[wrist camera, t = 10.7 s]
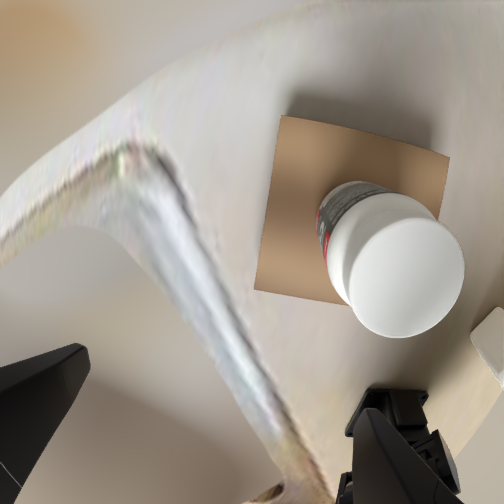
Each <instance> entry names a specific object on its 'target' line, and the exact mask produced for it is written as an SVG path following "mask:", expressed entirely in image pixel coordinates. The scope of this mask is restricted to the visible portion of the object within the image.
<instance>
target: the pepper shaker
mask: <svg viewBox="0 0 504 504" xmlns="http://www.w3.org/2000/svg"><path fill="white" fill-rule="evenodd" d="M470 339H471V342H472V344H473V345H474V347H475V349H476V350H477V352H478V353H479V355H480V356H481V358H482V359H483V361H484V362H485V363H486V365H487V366H488V368H489V369H490V370H491V372H492V373H493V375H494V376H495V377H496V379H497V380H498V382H499V383H500V385H501V386H502V388H503V389H504V310H503V309H502V308H500V307H497V308H495V309H494V310H493V311H492V312H491V313H490V314H489V315H488V316H487V317H486V318H485V319H484V320H483V321H482V322H481V323H480V324H479V325H478V326H477V327H476V328H475V329H474V330H473V331H472V332H471V334H470Z"/></svg>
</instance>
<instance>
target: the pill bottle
mask: <svg viewBox="0 0 504 504" xmlns="http://www.w3.org/2000/svg"><path fill="white" fill-rule="evenodd" d="M316 232H317V237H318V240H319V243H320V246H321V250H322V253H323V257H324V260H325V264H326V267H327V271H328V275H329V278H330V281H331V283H332V285H333V287H334V288H335V290H336V291H337V293H338V294H339V295H340V297H341V298H342V299H343V300H344V301H345V302H346V303H347V304H348V305H350V306H351V307H352V309H353V311H354V313H355V315H356V316H357V318H358V319H359V320H360V322H361V323H362V324H363V325H364V326H365V327H367V328H368V329H369V330H371V331H372V332H374V333H376V334H379V335H381V336H385V337H389V338H406V337H411V336H414V335H418V334H420V333H422V332H424V331H427V330H428V329H430V328H432V327H433V326H434V325H436V324H437V323H438V322H439V321H441V320H442V319H443V318H444V317H445V316H446V315H447V313H448V312H449V311H450V310H451V308H452V307H453V305H454V304H455V302H456V300H457V298H458V296H459V294H460V291H461V288H462V284H463V280H464V271H465V265H464V257H463V253H462V249H461V246H460V244H459V242H458V240H457V239H456V237H455V236H454V234H453V233H452V232H451V231H450V230H449V229H448V228H447V227H446V226H445V225H443V224H442V223H440V222H439V221H437V220H436V219H435V217H434V216H433V215H432V213H431V212H430V211H429V210H428V209H427V208H426V207H425V206H424V205H422V204H421V203H420V202H418V201H417V200H415V199H413V198H411V197H409V196H407V195H404V194H401V193H399V192H396V191H393V190H390V189H387V188H385V187H382V186H379V185H376V184H373V183H370V182H366V181H352V182H348V183H345V184H342V185H340V186H338V187H336V188H335V189H333V190H332V191H331V192H330V193H329V194H328V195H327V196H326V197H325V198H324V200H323V201H322V203H321V205H320V207H319V210H318V213H317V218H316Z"/></svg>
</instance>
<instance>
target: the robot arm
mask: <svg viewBox="0 0 504 504" xmlns="http://www.w3.org/2000/svg"><path fill="white" fill-rule="evenodd" d="M89 371H90V360H89V355H88V350H87V348H86V347H85V346H84V345H81V344H79V343H74V344H70V345H67V346H64V347H62V348H59V349H56V350H53V351H50V352H47V353H44V354H41V355H38V356H35V357H31V358H29V359H26V360H22V361H19V362H16V363H13V364H10V365H7V366H4V367H0V504H14V502H15V500H16V498H17V496H18V494H19V492H20V491H21V489H22V488H21V487H23V485H24V483H25V482H26V479H27V478H28V476H29V474H30V473H31V471H32V469H33V468H34V466H35V464H36V462H37V461H38V459H39V457H40V456H41V454H42V452H43V451H44V449H45V447H46V446H47V444H48V442H49V441H50V439H51V437H52V436H53V434H54V433H55V431H56V429H57V428H58V426H59V425H60V423H61V422H62V420H63V418H64V417H65V415H66V414H67V412H68V411H69V409H70V407H71V406H72V404H73V402H74V400H75V399H76V397H77V395H78V392H79V390H80V389H81V387H82V385H83V383H84V381H85V379H86V377H87V375H88V373H89ZM372 393H373V394H372ZM370 394H371V395H370ZM428 396H429V395H428V392H427V391H415V390H390V389H374V388H372V389H368V390H367V391H366V392H365V394H364V396H363V398H362V400H361V402H360V404H359V406H358V408H357V410H356V412H355V414H354V416H353V417H352V419H351V421H350V423H349V425H348V427H347V428H346V430H345V436H346V437H353V460H352V471H351V472H345V473H343V474H341V479H340V484H339V489H338V494H337V499H336V503H335V504H464V503H463V502H462V501H461V500H460V499H458V498H457V497H456V496H455V495H457V494H459V493H460V492H461V490H460V484H459V479H458V474H457V469H456V466H455V463H454V460H453V458H452V455H451V453H450V450H449V448H448V446H447V444H446V443H445V441H444V439H443V437H442V436H441V434H440V432H439V430H438V429H437V430H435V431H433V432H432V434H430V433H429V430H428V427H427V423H428V421H427V419H426V416H425V414H424V411H423V408H422V406H423V405H424V403H425V402H426V400H427V398H428Z"/></svg>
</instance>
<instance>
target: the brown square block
mask: <svg viewBox="0 0 504 504" xmlns="http://www.w3.org/2000/svg"><path fill="white" fill-rule="evenodd" d="M449 160H450V157H447V156H444V155H442V154H439V153H436V152H433V151H430V150H427V149H424V148H421V147H417V146H414V145H411V144H408V143H404V142H401V141H398V140H394V139H390V138H387V137H383V136H379V135H376V134H372V133H368V132H364V131H360V130H355V129H351V128H347V127H342V126H338V125H333V124H328V123H323V122H318V121H312V120H307V119H301V118H295V117H289V116H283V115H281V119H280V126H279V132H278V139H277V145H276V152H275V158H274V165H273V171H272V177H271V184H270V190H269V197H268V203H267V209H266V216H265V222H264V228H263V234H262V241H261V247H260V253H259V259H258V266H257V272H256V278H255V284H254V290H260V291H265V292H271V293H276V294H282V295H287V296H293V297H299V298H304V299H310V300H316V301H322V302H328V303H334V304H340V305H347V306H350V305H348V304H347V303H346V302H345V301H344V300H343V299H342V298H341V297H340V295H339V294H338V293H337V291H336V290H335V288H334V287H333V285H332V283H331V281H330V278H329V275H328V271H327V267H326V264H325V260H324V257H323V253H322V250H321V246H320V243H319V240H318V237H317V232H316V218H317V213H318V210H319V207H320V205H321V203H322V201H323V200H324V198H325V197H326V196H327V195H328V194H329V193H330V192H331V191H332V190H333V189H335V188H336V187H338V186H340V185H342V184H345V183H348V182H352V181H366V182H370V183H373V184H376V185H379V186H382V187H385V188H387V189H390V190H393V191H396V192H399V193H401V194H404V195H407V196H409V197H411V198H413V199H415V200H417V201H418V202H420V203H421V204H422V205H424V206H425V207H426V208H427V209H428V210H429V211H430V212H431V213H432V215H433V216H434V217H435V219H436V220H437V221H438V217H439V212H440V208H441V203H442V199H443V194H444V189H445V184H446V178H447V172H448V166H449Z"/></svg>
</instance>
